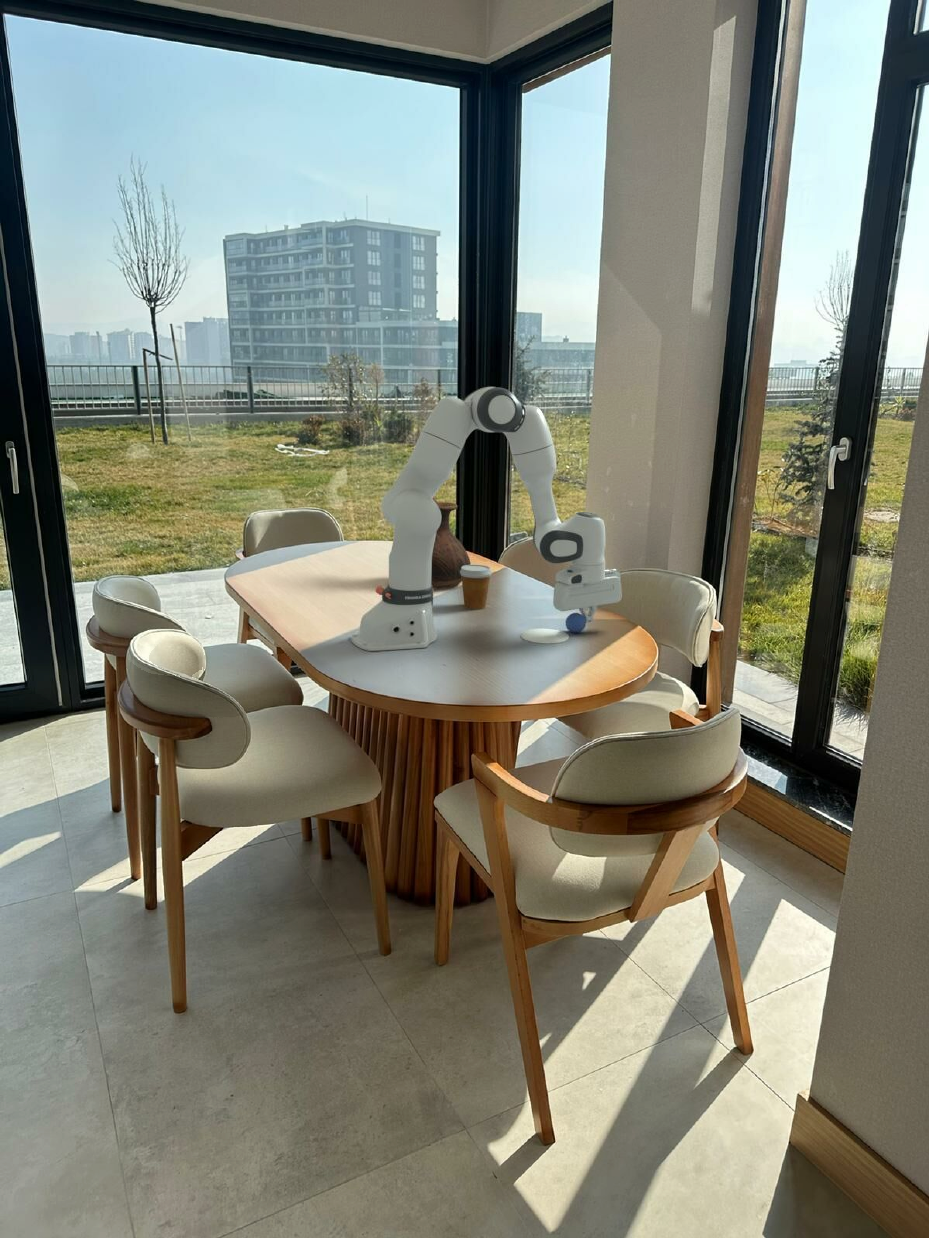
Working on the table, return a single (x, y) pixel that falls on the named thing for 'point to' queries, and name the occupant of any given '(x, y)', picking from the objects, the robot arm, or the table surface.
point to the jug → (447, 552)
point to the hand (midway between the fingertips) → (587, 621)
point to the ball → (575, 622)
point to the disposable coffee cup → (475, 585)
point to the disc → (544, 636)
